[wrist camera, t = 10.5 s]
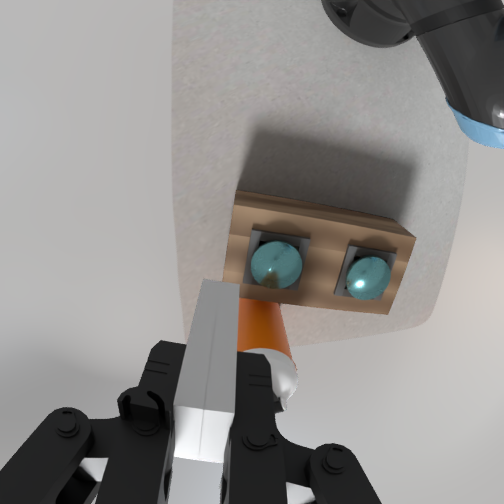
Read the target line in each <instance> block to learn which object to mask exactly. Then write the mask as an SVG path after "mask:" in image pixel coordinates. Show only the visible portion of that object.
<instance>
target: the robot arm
mask: <svg viewBox="0 0 504 504" xmlns="http://www.w3.org/2000/svg"><path fill="white" fill-rule="evenodd" d="M321 1H322V5H323V7H324V10H325V12H326V14H327V15H328V17H329V18H330V20H331V21H332V22H333V23H334V25H335V26H336V27H337V28H338V29H339V30H341V31H342V32H343V33H344V34H346V35H347V36H348V37H350V38H352V39H353V40H355V41H357V42H360V43H362V44H365V45H368V46H372V47H378V48H388V47H394V46H397V45H400V44H402V43H405V42H407V41H408V40H410V39H411V38H412V37H414V36H417V37H416V38H417V40H418V41H419V43H420V45H421V47H422V49H423V50H424V52H425V54H426V56H427V58H428V60H429V62H430V64H431V66H432V68H433V70H434V72H435V74H436V76H437V78H438V80H439V82H440V84H441V86H442V89H443V91H444V93H445V95H446V98H445V99H446V102H447V104H448V106H449V107H450V108H451V110H452V111H453V113H454V116H455V118H456V120H457V122H458V125H459V127H460V129H461V130H462V131H463V132H464V133H465V134H466V135H467V136H468V137H469V138H470V139H471V140H473V141H475V142H477V143H479V144H482V145H485V146H489V147H494V148H501V149H504V9H503V8H504V5H503V3H502V1H501V0H321ZM421 34H422V35H421ZM239 289H240V284H234V283H228V282H221V281H214V280H207V279H203V282H202V285H201V289H200V293H199V297H198V301H197V305H196V309H195V313H194V317H193V321H192V325H191V330H190V334H189V338H188V342H187V345H186V344H180V343H173V342H168V341H162V340H161V341H159V343H157V344H156V345H155V346H154V347H153V348H152V349H151V351H150V354H149V357H148V361H147V363H146V365H145V368H144V371H143V374H142V377H141V380H140V382H139V385H138V386H137V387H133V388H129V389H127V390H126V391H125V392H123V393H121V395H120V396H119V398H118V399H117V402H118V408H119V413H120V416H119V417H115V418H110V419H88V417H87V416H86V415H85V414H84V413H83V412H81V411H80V410H77V409H75V408H69V407H68V408H67V407H63V408H59V409H56V410H54V411H53V412H52V413H50V414H49V415H48V416H47V417H46V418H45V419H44V421H43V422H42V423H41V424H40V425H39V426H38V427H37V429H36V430H35V431H34V432H33V433H32V434H31V435H30V437H29V438H28V439H27V440H26V441H25V442H24V443H23V445H22V446H21V447H20V448H19V449H18V451H17V452H16V453H15V454H14V455H13V456H12V458H11V459H10V460H9V461H8V462H7V464H6V465H5V466H4V467H3V468H2V469H1V471H0V504H91V503H92V501H93V500H94V498H95V497H96V495H97V493H98V495H97V499H96V502H95V504H168V498H169V491H170V484H171V478H172V463H173V456H175V457H181V458H187V459H195V460H201V461H209V462H218V463H223V462H224V463H223V474H222V478H221V482H220V486H219V488H221V493H220V504H382V503H381V502H380V500H379V498H378V496H377V494H376V492H375V491H374V489H373V487H372V485H371V483H370V482H369V480H368V478H367V476H366V474H365V473H364V471H363V469H362V467H361V465H360V463H359V462H358V460H357V458H356V456H355V455H354V454H353V453H352V452H351V450H349V449H348V448H346V447H344V446H342V445H338V444H334V443H332V444H324V445H321V446H319V447H317V448H316V449H315V450H314V449H310V448H307V447H303V446H300V445H297V444H294V443H292V442H290V441H288V440H287V439H285V438H284V437H283V436H282V435H281V434H280V432H279V431H278V429H277V426H276V422H275V410H274V398H273V388H272V379H271V378H272V374H271V365H270V363H269V361H268V360H267V358H266V357H265V355H264V354H258V353H249V352H241V351H237V336H238V312H239Z"/></svg>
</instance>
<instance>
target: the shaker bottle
mask: <svg viewBox="0 0 504 504" xmlns="http://www.w3.org/2000/svg"><path fill="white" fill-rule="evenodd" d="M237 351H241V352H249V353H258V354H264V355H265V357H266V358H267V360H268V361H269V363H270V365H271V374H272V378H271V379H272V388H273V398H274V410H275V414H276V413H279V412H283V411H286V410H287V404H286V400H287V399H288V398H289V397H290V396H291V395H292V394H293V393H294V391H295V390H296V388H297V385H298V376H297V369H296V365H295V363H294V362H293V360H292V356H291V352H290V348H289V344H288V340H287V335H286V331H285V327H284V323H283V319H282V315H281V311H280V307H279V303H275V302H267V301H260V300H252V299H245V298H239V312H238V336H237Z"/></svg>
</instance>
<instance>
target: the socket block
mask: <svg viewBox="0 0 504 504" xmlns="http://www.w3.org/2000/svg"><path fill="white" fill-rule="evenodd" d="M272 240H282V241H286V242H288V243H290V244H292V245H293V246H294V247H295V248H296V249H297V250H298V252H299V254H300V256H301V260H302V270H301V273H300V275H299V277H298V278H297V280H296V281H295V282H294V283H292V284H291V285H289V286H287V287H285V288H281V289H270V288H267V287H264V286H262V285H261V284H259V283H258V282H257V281H256V280H255V278H254V277H253V275H252V271H251V259H252V256H253V254H254V252H255V251H256V249H257V248H258V247H259V241H266V242H268V241H272ZM415 241H416V237H415V236H413V235H412V234H411V233H410V232H408V231H407V230H406V229H405V228H403V227H402V226H401V225H400V224H398V223H397V222H396V221H395V220H393V219H390V218H385V217H380V216H376V215H371V214H366V213H362V212H357V211H352V210H347V209H342V208H337V207H332V206H327V205H321V204H316V203H311V202H305V201H300V200H294V199H288V198H283V197H277V196H271V195H265V194H259V193H253V192H246V191H240V190H236V194H235V200H234V206H233V213H232V219H231V226H230V232H229V239H228V246H227V253H226V259H225V266H224V273H223V280H222V282H228V283H234V284H240V289H239V298H245V299H252V300H260V301H267V302H275V303H283V304H291V305H299V306H308V307H317V308H326V309H335V310H344V311H354V312H364V313H375V314H386V315H388V313H389V311H390V308H391V306H392V304H393V301H394V299H395V296H396V294H397V291H398V288H399V286H400V283H401V281H402V278H403V275H404V272H405V270H406V267H407V264H408V261H409V259H410V256H411V253H412V250H413V247H414V244H415ZM368 255H375V256H378V257H380V258H382V259H383V260H384V261H385V262H386V263H387V264H388V266H389V268H390V271H391V278H390V282H389V284H388V286H387V288H386V289H385V291H384V292H383V293H381V294H380V295H379V296H377V297H375V298H373V299H370V300H360V299H357V298H355V297H353V296H352V295H351V294H350V292H349V290H348V288H347V286H346V282H345V278H346V273H347V271H348V269H349V267H350V266H351V265H352V263H353V260H354V257H355V256H362V257H364V256H368Z"/></svg>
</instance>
